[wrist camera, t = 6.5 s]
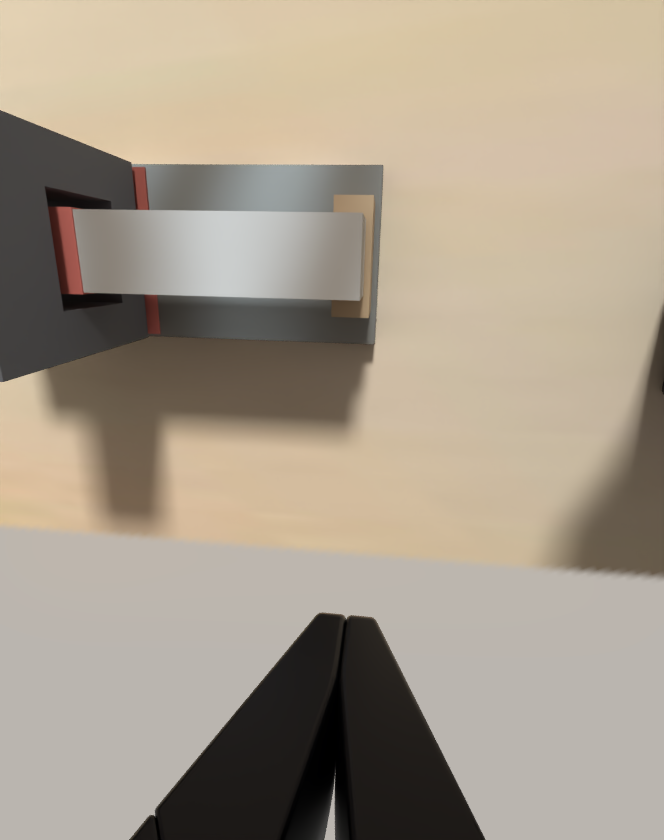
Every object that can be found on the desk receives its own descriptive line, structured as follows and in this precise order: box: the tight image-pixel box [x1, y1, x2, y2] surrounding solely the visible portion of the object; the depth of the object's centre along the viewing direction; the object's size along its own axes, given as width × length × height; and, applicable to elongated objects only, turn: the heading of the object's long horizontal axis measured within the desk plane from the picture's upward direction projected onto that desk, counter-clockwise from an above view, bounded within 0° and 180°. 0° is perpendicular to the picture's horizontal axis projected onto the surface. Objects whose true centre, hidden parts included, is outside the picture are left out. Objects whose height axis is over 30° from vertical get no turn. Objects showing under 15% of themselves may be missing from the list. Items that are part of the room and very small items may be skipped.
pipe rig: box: [48, 164, 383, 344], centre depth 16 cm, size 14×6×5 cm, turn 89°
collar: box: [0, 110, 148, 382], centre depth 14 cm, size 3×6×7 cm, turn 179°
